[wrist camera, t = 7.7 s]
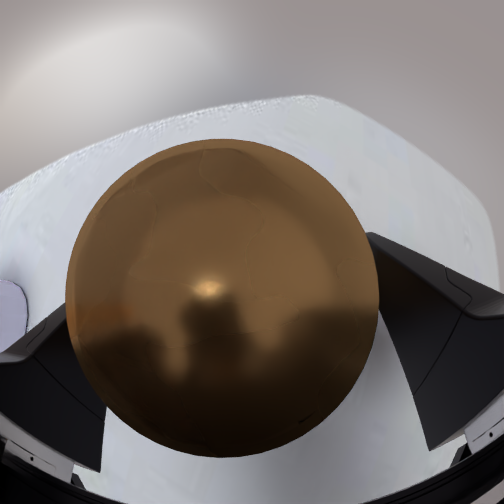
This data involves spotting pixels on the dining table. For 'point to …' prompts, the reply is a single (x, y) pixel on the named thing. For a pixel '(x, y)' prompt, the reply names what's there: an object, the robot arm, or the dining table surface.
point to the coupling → (222, 298)
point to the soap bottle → (11, 314)
